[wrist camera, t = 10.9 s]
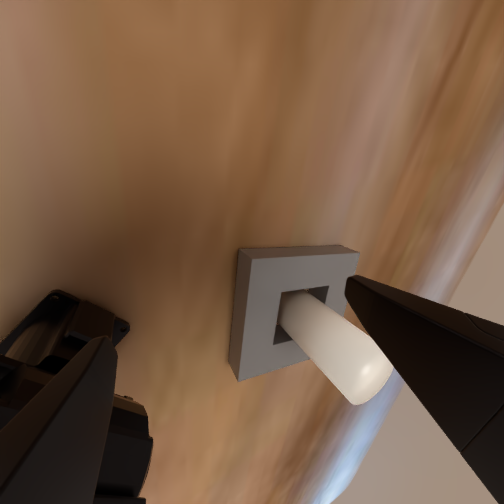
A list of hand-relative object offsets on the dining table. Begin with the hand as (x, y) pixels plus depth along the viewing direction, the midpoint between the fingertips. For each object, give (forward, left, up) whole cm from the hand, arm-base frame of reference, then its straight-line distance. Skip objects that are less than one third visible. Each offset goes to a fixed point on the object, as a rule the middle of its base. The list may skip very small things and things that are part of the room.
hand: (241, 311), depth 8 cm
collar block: (+2, -15, -13) cm, 20 cm away
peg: (+2, -15, -13) cm, 20 cm away
